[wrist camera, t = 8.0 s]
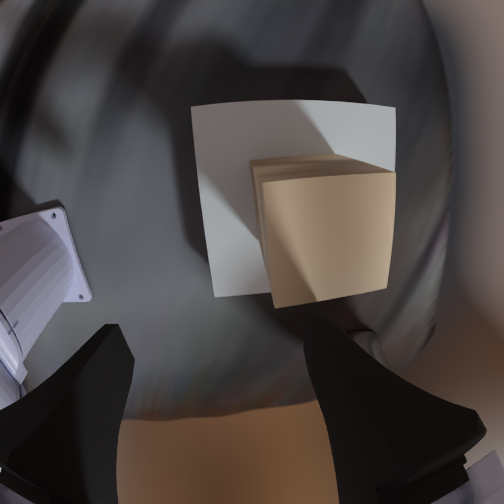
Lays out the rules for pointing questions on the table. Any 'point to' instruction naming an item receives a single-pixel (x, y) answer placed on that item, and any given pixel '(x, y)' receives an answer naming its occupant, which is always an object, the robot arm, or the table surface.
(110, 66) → the table surface
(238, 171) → the ceramic box
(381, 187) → the beech block
